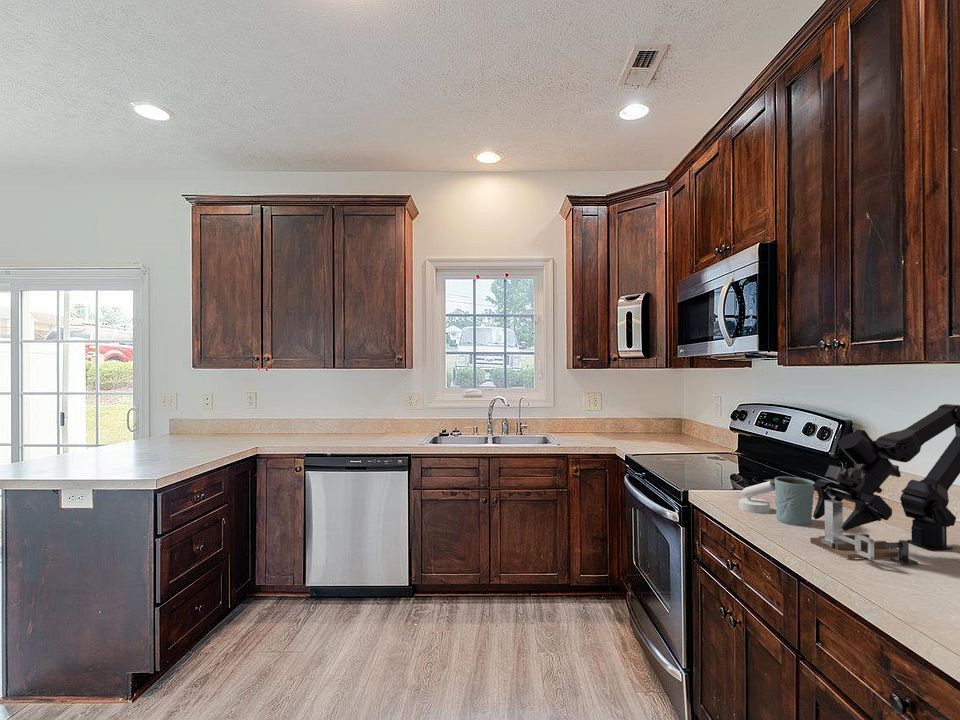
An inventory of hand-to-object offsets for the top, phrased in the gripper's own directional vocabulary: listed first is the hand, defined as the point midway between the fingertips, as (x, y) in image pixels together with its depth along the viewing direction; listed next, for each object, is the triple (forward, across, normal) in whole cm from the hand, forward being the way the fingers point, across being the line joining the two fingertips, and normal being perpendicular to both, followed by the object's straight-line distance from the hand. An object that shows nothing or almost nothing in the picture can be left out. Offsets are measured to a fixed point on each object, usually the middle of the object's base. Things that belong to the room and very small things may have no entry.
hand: (828, 523), depth 130 cm
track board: (0, 0, +9) cm, 9 cm away
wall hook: (+1, -36, +9) cm, 37 cm away
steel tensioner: (+3, +5, +5) cm, 7 cm away
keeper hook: (-2, +9, +11) cm, 15 cm away
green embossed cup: (-1, -23, +11) cm, 25 cm away
